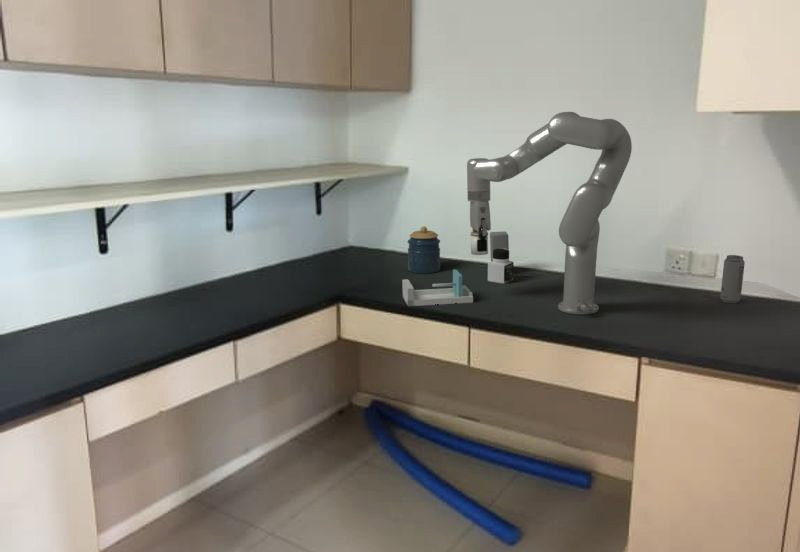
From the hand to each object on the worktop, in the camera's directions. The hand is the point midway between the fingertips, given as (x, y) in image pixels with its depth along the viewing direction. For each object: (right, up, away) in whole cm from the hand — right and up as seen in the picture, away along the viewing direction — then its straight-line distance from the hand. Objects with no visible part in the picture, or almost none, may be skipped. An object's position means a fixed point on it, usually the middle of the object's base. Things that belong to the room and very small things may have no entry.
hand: (479, 249), depth 232 cm
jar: (0, -1, 0) cm, 2 cm away
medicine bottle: (+11, -11, +25) cm, 29 cm away
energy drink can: (+82, -18, -6) cm, 84 cm away
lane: (-14, -17, +2) cm, 22 cm away
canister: (-17, -7, +42) cm, 46 cm away
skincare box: (+12, -8, +37) cm, 39 cm away
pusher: (-11, -16, +2) cm, 20 cm away
